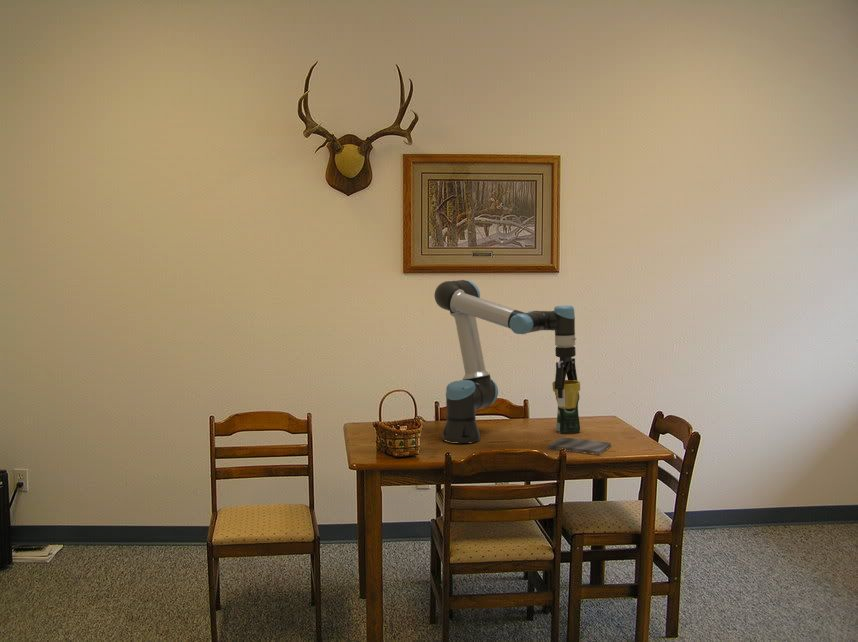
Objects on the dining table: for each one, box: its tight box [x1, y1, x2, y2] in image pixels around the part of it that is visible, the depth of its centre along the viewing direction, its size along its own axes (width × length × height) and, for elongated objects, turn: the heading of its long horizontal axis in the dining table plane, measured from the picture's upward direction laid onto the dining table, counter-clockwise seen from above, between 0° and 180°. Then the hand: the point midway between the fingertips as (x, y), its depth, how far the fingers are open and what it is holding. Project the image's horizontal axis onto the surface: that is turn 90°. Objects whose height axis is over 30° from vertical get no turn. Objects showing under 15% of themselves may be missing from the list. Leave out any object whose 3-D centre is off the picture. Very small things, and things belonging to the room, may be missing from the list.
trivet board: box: [547, 436, 612, 455], centre depth 275 cm, size 20×14×2 cm
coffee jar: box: [555, 391, 581, 434], centre depth 299 cm, size 10×8×19 cm
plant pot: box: [552, 379, 581, 409], centre depth 275 cm, size 10×10×10 cm
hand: (566, 403), depth 275 cm, fingers closed on plant pot, 10 cm apart
